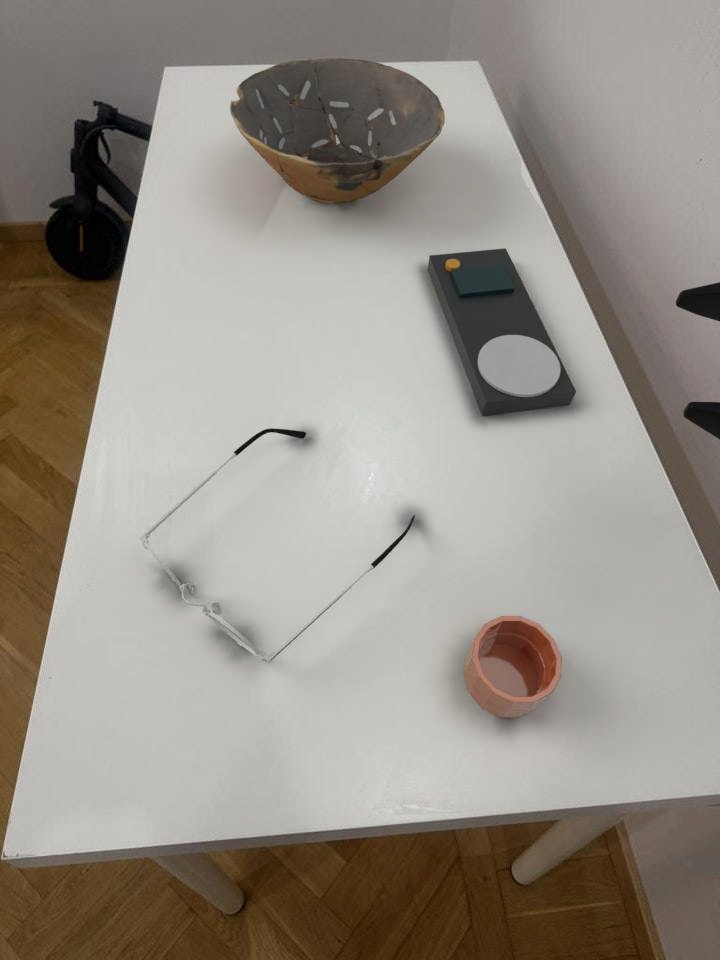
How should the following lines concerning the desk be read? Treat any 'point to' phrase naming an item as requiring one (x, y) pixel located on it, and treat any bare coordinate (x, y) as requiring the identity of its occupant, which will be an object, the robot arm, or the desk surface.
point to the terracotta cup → (512, 666)
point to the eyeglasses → (215, 604)
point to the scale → (498, 333)
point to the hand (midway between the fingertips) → (681, 350)
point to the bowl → (337, 124)
